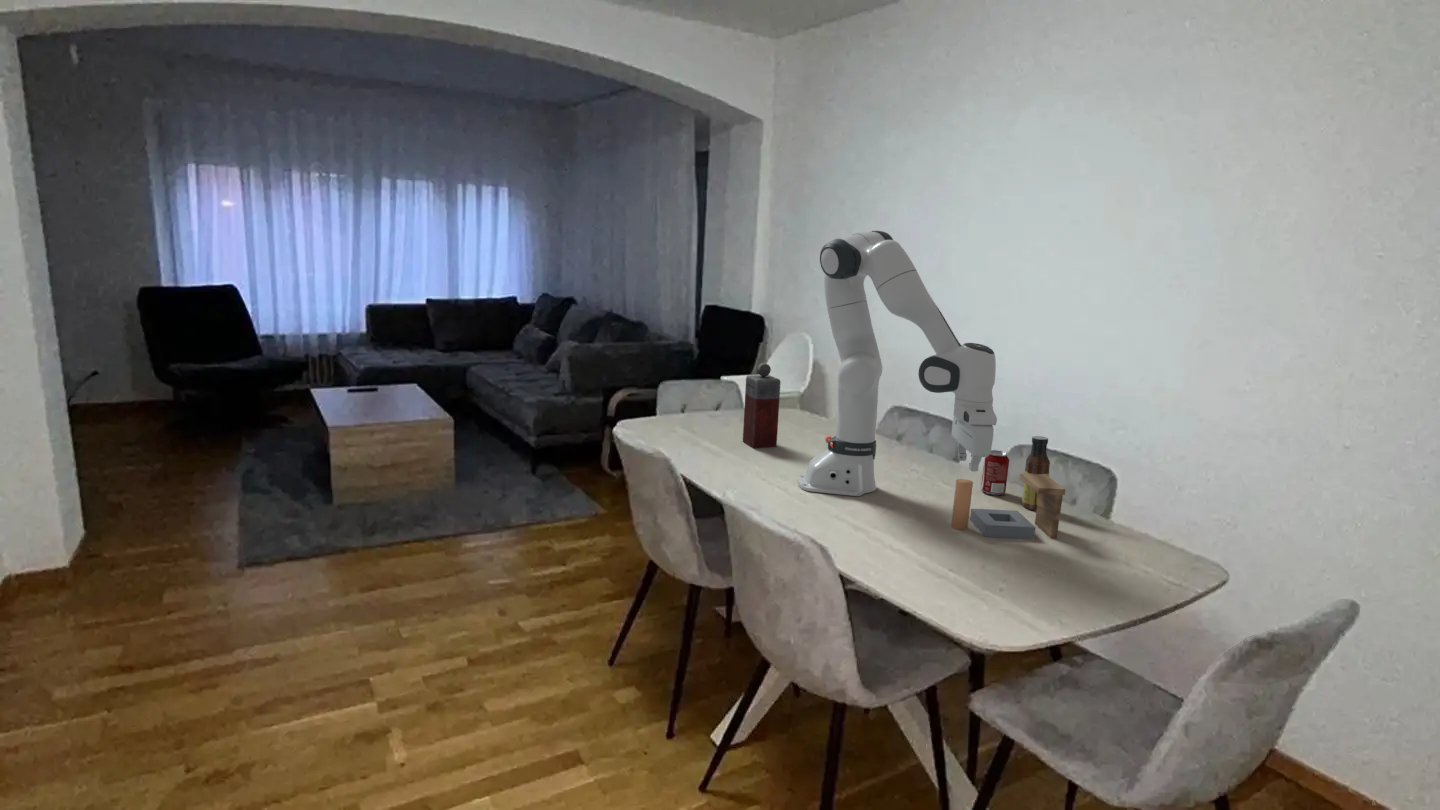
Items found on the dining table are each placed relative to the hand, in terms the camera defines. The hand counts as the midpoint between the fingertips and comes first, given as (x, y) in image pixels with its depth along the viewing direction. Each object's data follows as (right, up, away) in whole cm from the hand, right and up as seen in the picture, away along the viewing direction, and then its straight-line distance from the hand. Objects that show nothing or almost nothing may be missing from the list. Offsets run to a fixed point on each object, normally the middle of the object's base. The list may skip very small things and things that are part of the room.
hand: (967, 465), depth 195 cm
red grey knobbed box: (-48, +1, +76) cm, 90 cm away
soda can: (+18, -11, +33) cm, 39 cm away
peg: (-1, -16, +4) cm, 16 cm away
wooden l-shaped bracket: (+18, -17, +4) cm, 25 cm away
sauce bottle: (+25, -14, +21) cm, 35 cm away
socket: (+10, -16, +4) cm, 19 cm away
